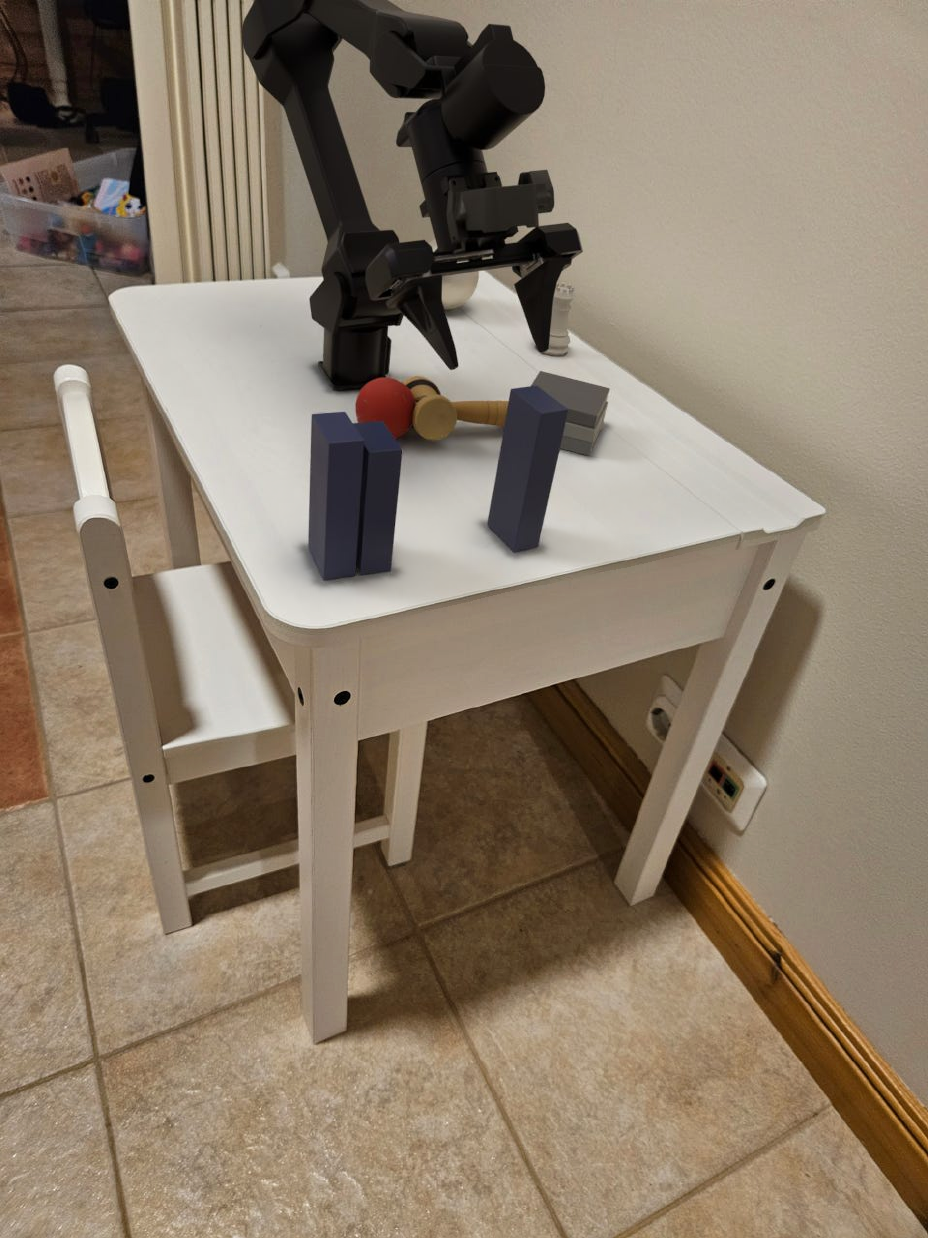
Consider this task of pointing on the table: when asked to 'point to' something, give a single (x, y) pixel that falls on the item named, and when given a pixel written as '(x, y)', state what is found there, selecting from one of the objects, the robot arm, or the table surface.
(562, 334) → the rook chess piece
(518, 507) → the navy book
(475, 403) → the kendama
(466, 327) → the table surface
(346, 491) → the navy books
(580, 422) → the grey books
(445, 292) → the baroque pearl
